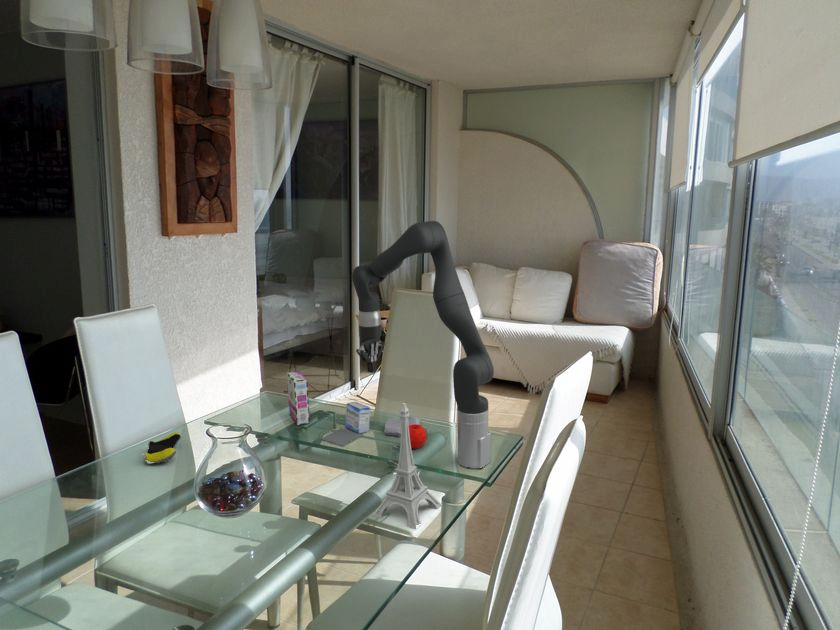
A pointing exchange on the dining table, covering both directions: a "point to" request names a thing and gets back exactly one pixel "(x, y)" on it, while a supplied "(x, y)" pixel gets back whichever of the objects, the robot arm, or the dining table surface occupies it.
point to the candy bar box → (298, 398)
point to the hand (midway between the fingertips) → (371, 371)
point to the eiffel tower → (407, 481)
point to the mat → (341, 437)
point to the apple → (417, 436)
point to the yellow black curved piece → (162, 449)
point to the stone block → (398, 425)
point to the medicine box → (357, 417)
